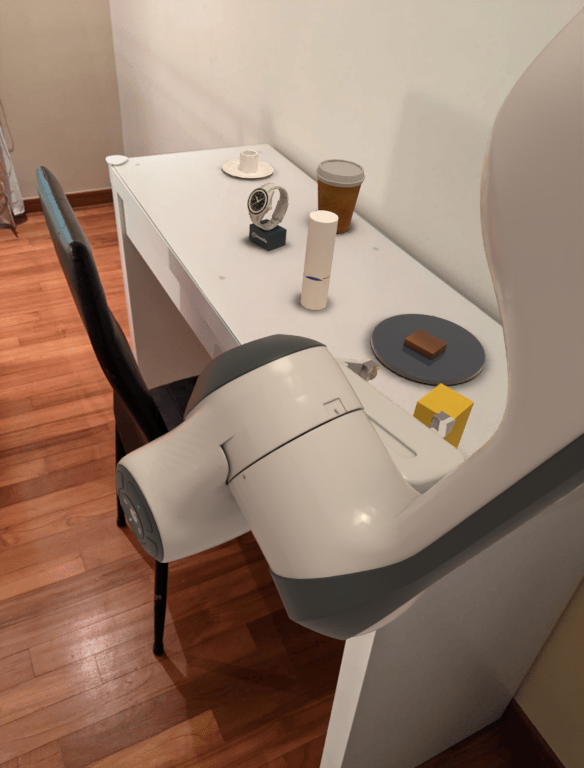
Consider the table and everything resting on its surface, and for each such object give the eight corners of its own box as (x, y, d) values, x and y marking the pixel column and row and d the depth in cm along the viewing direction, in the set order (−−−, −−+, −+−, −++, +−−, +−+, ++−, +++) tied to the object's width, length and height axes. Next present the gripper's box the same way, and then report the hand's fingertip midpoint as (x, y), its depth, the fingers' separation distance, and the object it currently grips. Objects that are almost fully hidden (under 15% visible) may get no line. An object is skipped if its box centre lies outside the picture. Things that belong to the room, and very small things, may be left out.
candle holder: (234, 183, 136) (235, 164, 133) (213, 164, 144) (213, 145, 141) (282, 177, 141) (283, 159, 138) (259, 159, 149) (260, 141, 146)
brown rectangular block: (431, 360, 89) (433, 353, 88) (403, 344, 91) (404, 338, 90) (445, 349, 91) (447, 343, 90) (418, 334, 93) (419, 328, 93)
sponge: (432, 477, 72) (451, 421, 66) (401, 456, 74) (416, 401, 69) (454, 456, 75) (474, 401, 69) (424, 437, 77) (440, 382, 72)
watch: (240, 242, 114) (242, 185, 107) (272, 231, 119) (276, 176, 112) (260, 254, 111) (264, 196, 104) (292, 242, 116) (297, 186, 109)
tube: (318, 294, 102) (329, 209, 93) (331, 307, 99) (343, 220, 90) (295, 298, 100) (304, 212, 91) (307, 312, 98) (318, 224, 88)
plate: (492, 339, 96) (494, 334, 95) (470, 400, 84) (472, 395, 83) (390, 307, 101) (391, 302, 100) (355, 361, 88) (356, 356, 88)
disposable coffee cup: (357, 219, 127) (366, 161, 119) (356, 239, 119) (366, 179, 112) (311, 213, 127) (318, 155, 119) (308, 233, 119) (314, 173, 112)
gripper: (415, 492, 43) (513, 431, 51) (237, 344, 53) (343, 314, 62) (388, 550, 46) (484, 484, 55) (226, 400, 57) (328, 365, 66)
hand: (408, 393), depth 59 cm, fingers open, 8 cm apart
